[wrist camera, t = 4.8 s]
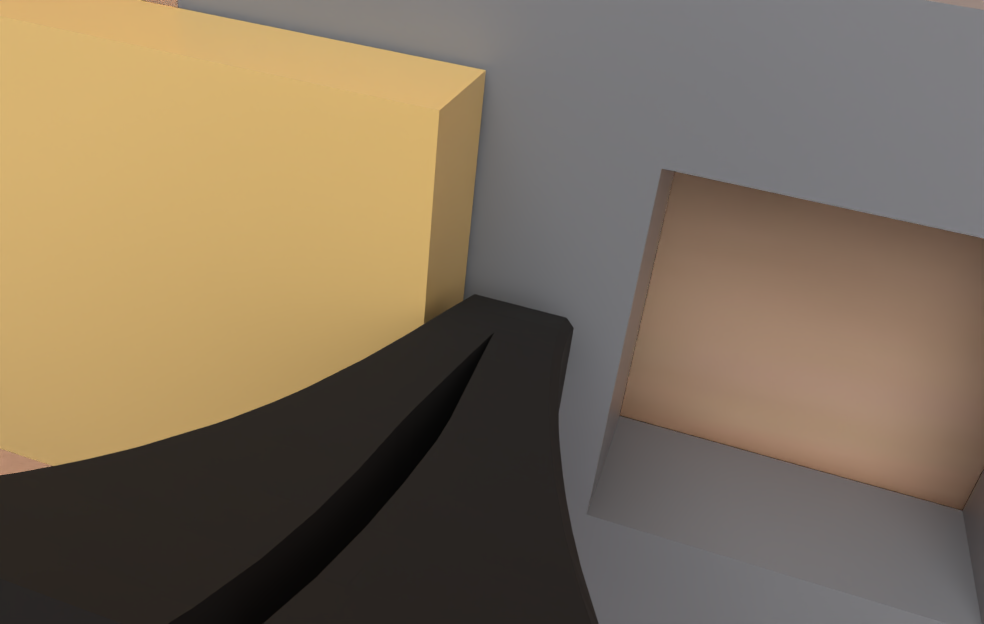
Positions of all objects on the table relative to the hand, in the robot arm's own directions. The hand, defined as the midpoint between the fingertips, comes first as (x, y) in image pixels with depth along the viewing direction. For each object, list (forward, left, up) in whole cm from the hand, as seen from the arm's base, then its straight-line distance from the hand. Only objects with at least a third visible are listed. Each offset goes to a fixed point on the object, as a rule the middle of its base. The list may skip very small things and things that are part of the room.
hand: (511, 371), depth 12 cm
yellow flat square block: (0, +4, -1) cm, 4 cm away
